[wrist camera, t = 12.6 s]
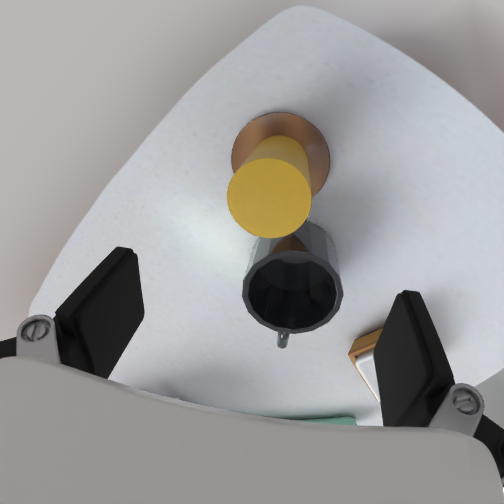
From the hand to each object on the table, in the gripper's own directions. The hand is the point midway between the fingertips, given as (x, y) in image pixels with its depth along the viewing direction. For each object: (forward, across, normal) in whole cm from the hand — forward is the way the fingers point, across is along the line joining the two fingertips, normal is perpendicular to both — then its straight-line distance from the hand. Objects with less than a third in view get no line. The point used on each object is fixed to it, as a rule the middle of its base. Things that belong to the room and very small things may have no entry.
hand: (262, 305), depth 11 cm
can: (+23, +1, 0) cm, 23 cm away
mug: (+24, -2, +13) cm, 27 cm away
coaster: (+24, +1, 0) cm, 24 cm away
